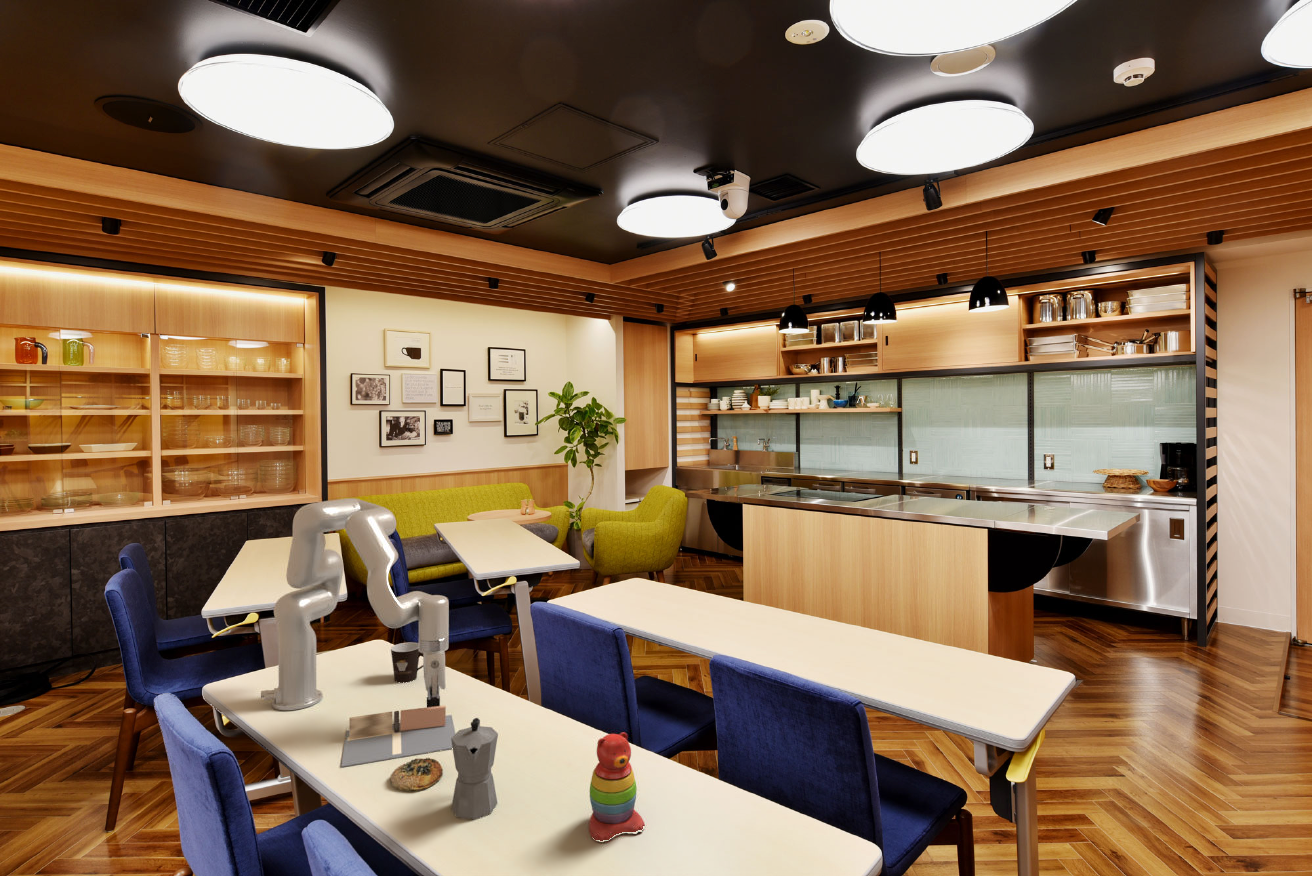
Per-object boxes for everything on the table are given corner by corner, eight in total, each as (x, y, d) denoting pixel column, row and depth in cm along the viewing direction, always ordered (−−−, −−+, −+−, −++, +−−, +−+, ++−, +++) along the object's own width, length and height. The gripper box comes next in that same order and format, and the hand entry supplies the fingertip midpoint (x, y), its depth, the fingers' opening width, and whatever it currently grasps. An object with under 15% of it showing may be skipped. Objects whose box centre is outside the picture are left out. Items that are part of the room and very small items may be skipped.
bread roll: (443, 763, 155) (442, 743, 154) (442, 795, 145) (441, 774, 144) (393, 771, 152) (392, 751, 151) (387, 804, 142) (386, 783, 141)
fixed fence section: (349, 739, 166) (349, 719, 165) (349, 737, 167) (349, 717, 167) (399, 732, 170) (399, 712, 170) (399, 730, 171) (399, 710, 171)
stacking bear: (595, 845, 125) (596, 753, 125) (580, 816, 135) (580, 730, 134) (648, 832, 130) (648, 742, 129) (629, 804, 139) (630, 721, 139)
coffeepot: (497, 823, 132) (497, 734, 132) (448, 829, 130) (448, 738, 130) (498, 782, 147) (498, 702, 147) (454, 787, 145) (454, 705, 145)
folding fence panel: (400, 730, 170) (400, 712, 170) (400, 728, 171) (400, 710, 171) (445, 725, 173) (445, 707, 173) (445, 723, 174) (445, 705, 174)
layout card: (341, 767, 153) (341, 766, 153) (346, 731, 170) (346, 730, 170) (458, 748, 162) (458, 746, 162) (451, 716, 180) (451, 714, 180)
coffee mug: (384, 681, 203) (384, 649, 203) (404, 672, 211) (404, 641, 211) (414, 687, 199) (414, 654, 199) (434, 677, 207) (434, 645, 207)
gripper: (451, 651, 169) (450, 722, 170) (446, 633, 183) (445, 699, 183) (419, 654, 166) (419, 726, 167) (417, 636, 180) (416, 703, 181)
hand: (433, 712), depth 175 cm, fingers closed
